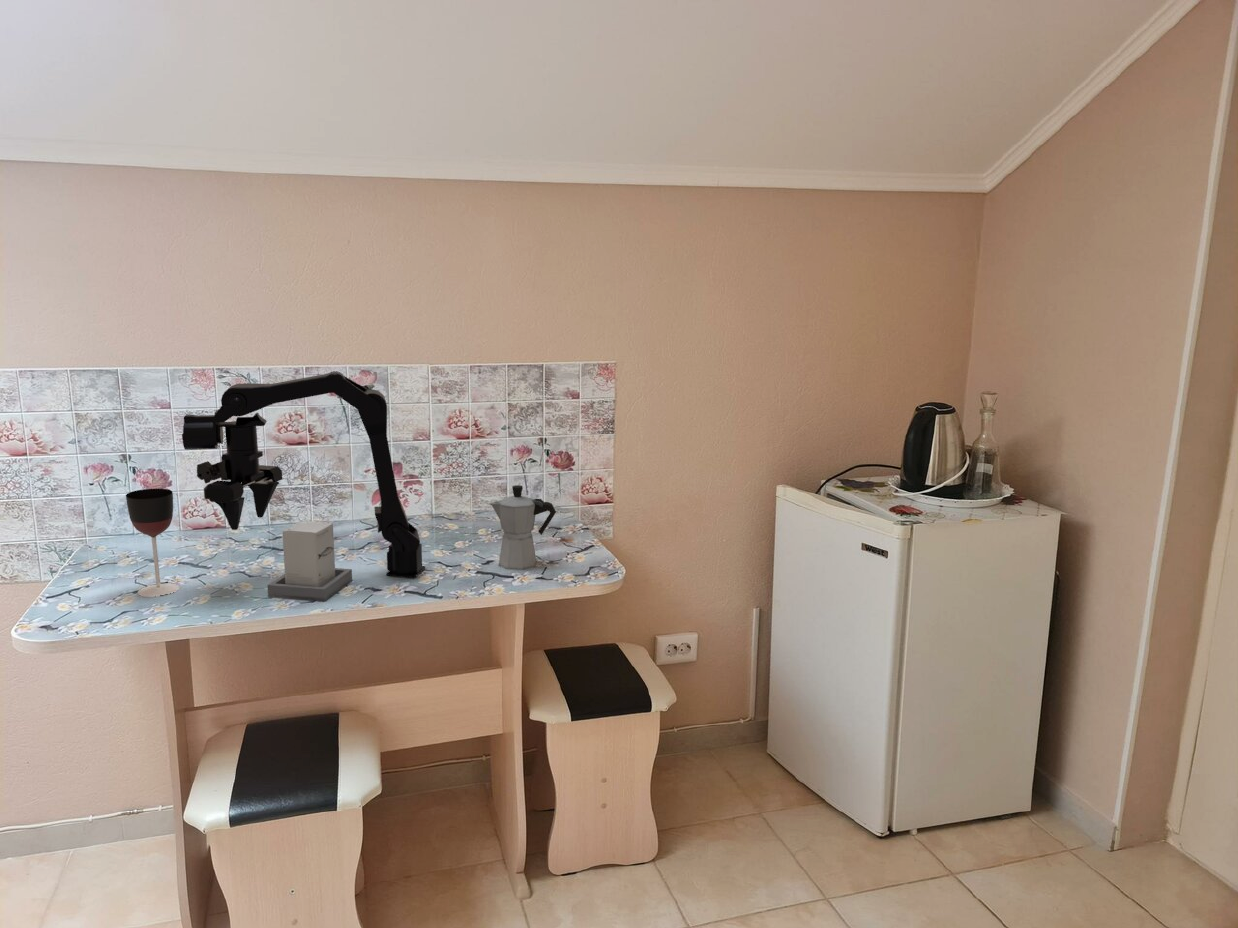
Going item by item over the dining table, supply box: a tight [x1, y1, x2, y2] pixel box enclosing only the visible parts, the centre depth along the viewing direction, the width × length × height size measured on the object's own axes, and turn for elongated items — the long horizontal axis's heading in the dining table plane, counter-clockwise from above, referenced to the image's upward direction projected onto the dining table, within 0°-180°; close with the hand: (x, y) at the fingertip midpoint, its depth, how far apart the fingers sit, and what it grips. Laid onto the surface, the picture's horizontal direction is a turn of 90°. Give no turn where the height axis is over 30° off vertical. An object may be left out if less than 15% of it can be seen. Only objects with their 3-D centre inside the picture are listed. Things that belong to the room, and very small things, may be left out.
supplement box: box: [281, 520, 336, 587], centre depth 175 cm, size 7×7×13 cm
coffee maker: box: [488, 484, 557, 571], centre depth 192 cm, size 15×9×18 cm, turn 88°
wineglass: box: [125, 488, 181, 598], centre depth 171 cm, size 8×9×20 cm
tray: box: [267, 567, 353, 602], centre depth 176 cm, size 12×12×2 cm
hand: (247, 523), depth 175 cm, fingers open, 9 cm apart
